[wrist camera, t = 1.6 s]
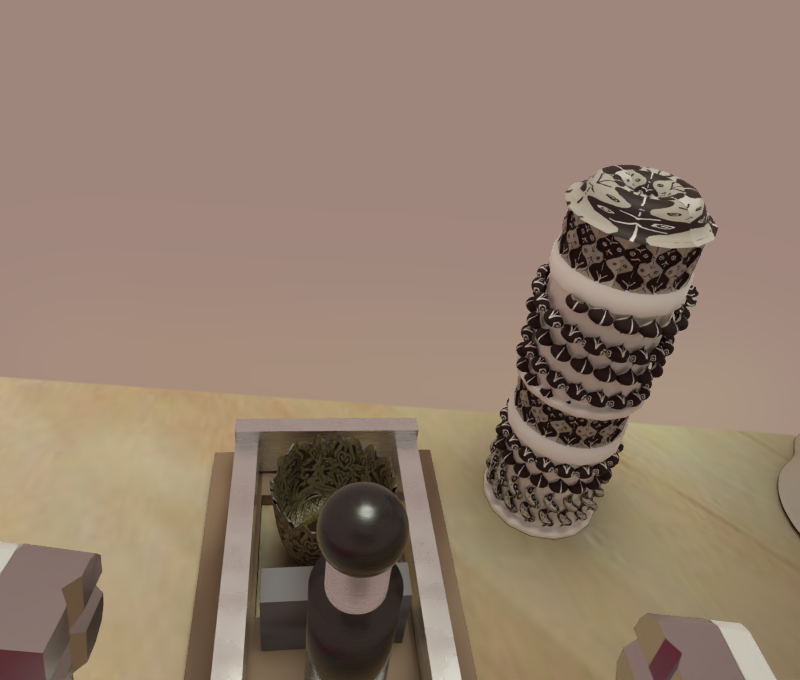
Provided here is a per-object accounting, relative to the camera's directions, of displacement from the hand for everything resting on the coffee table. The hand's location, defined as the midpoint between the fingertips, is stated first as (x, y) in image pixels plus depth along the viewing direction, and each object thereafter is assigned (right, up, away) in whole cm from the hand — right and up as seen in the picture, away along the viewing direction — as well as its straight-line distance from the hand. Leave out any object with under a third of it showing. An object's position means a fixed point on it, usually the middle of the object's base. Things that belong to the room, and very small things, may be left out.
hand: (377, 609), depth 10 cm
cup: (-4, -10, +33) cm, 35 cm away
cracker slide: (-4, -11, +30) cm, 32 cm away
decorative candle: (+11, -8, +40) cm, 42 cm away
